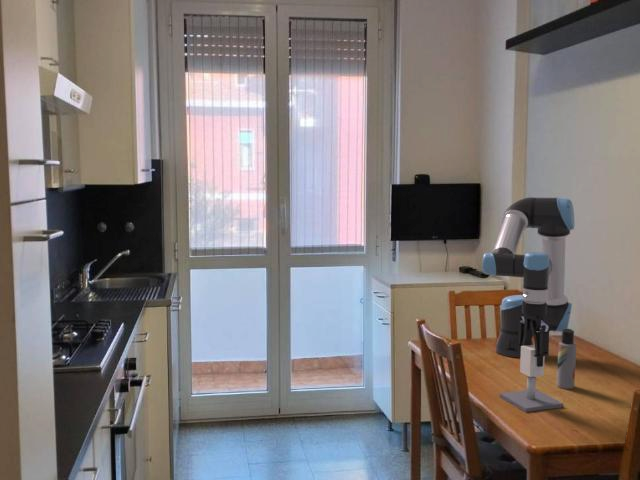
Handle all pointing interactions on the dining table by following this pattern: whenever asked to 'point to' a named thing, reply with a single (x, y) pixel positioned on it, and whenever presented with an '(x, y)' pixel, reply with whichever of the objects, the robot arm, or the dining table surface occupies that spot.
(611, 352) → the dining table surface
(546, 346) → the robot arm
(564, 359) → the lotion bottle
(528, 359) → the tall white block
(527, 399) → the post board
